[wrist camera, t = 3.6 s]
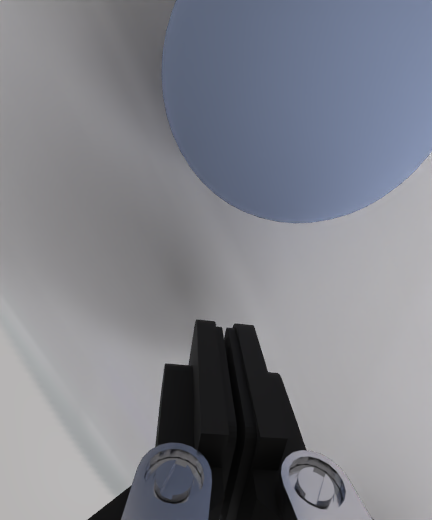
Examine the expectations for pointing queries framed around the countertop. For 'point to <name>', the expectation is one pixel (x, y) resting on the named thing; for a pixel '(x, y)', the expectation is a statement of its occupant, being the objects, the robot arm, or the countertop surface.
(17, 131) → the countertop surface
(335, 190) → the blue ball
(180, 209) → the countertop surface
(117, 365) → the countertop surface
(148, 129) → the countertop surface
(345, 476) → the robot arm
